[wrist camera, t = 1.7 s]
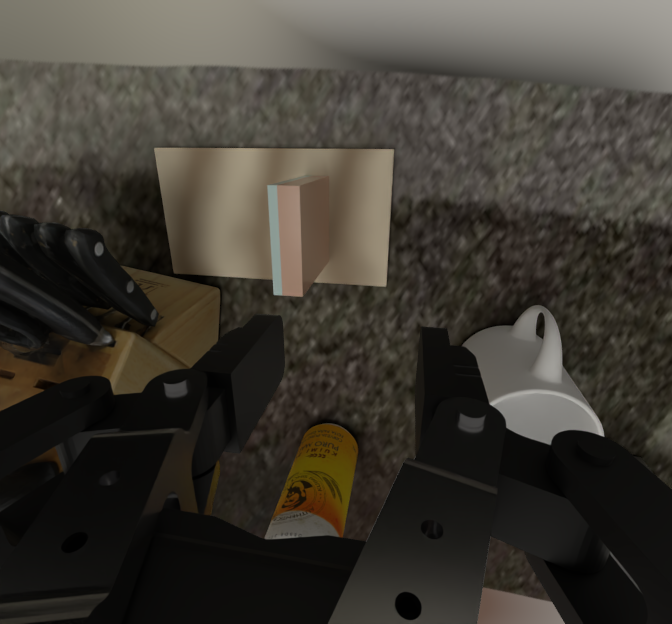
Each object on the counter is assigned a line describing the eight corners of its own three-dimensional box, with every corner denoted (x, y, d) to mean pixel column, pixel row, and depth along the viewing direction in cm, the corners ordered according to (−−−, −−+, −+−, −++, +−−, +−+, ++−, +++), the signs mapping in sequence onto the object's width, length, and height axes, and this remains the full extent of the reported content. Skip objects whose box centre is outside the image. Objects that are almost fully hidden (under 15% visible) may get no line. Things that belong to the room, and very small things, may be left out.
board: (394, 149, 31) (393, 149, 30) (386, 283, 35) (386, 286, 34) (160, 147, 34) (153, 147, 33) (179, 270, 39) (173, 273, 38)
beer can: (342, 411, 41) (307, 541, 28) (368, 455, 43) (347, 598, 29) (294, 428, 43) (239, 557, 30) (321, 469, 45) (280, 610, 31)
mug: (582, 296, 33) (654, 359, 23) (533, 413, 38) (575, 506, 28) (477, 276, 34) (502, 329, 24) (442, 393, 38) (451, 476, 29)
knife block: (233, 186, 34) (-564, 358, 6) (215, 481, 49) (-55, 935, 21) (114, 161, 36) (-1013, 217, 7) (131, 457, 50) (-234, 857, 22)
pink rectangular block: (329, 175, 32) (299, 185, 24) (329, 261, 34) (302, 296, 26) (304, 175, 32) (267, 185, 24) (306, 259, 35) (273, 294, 27)
